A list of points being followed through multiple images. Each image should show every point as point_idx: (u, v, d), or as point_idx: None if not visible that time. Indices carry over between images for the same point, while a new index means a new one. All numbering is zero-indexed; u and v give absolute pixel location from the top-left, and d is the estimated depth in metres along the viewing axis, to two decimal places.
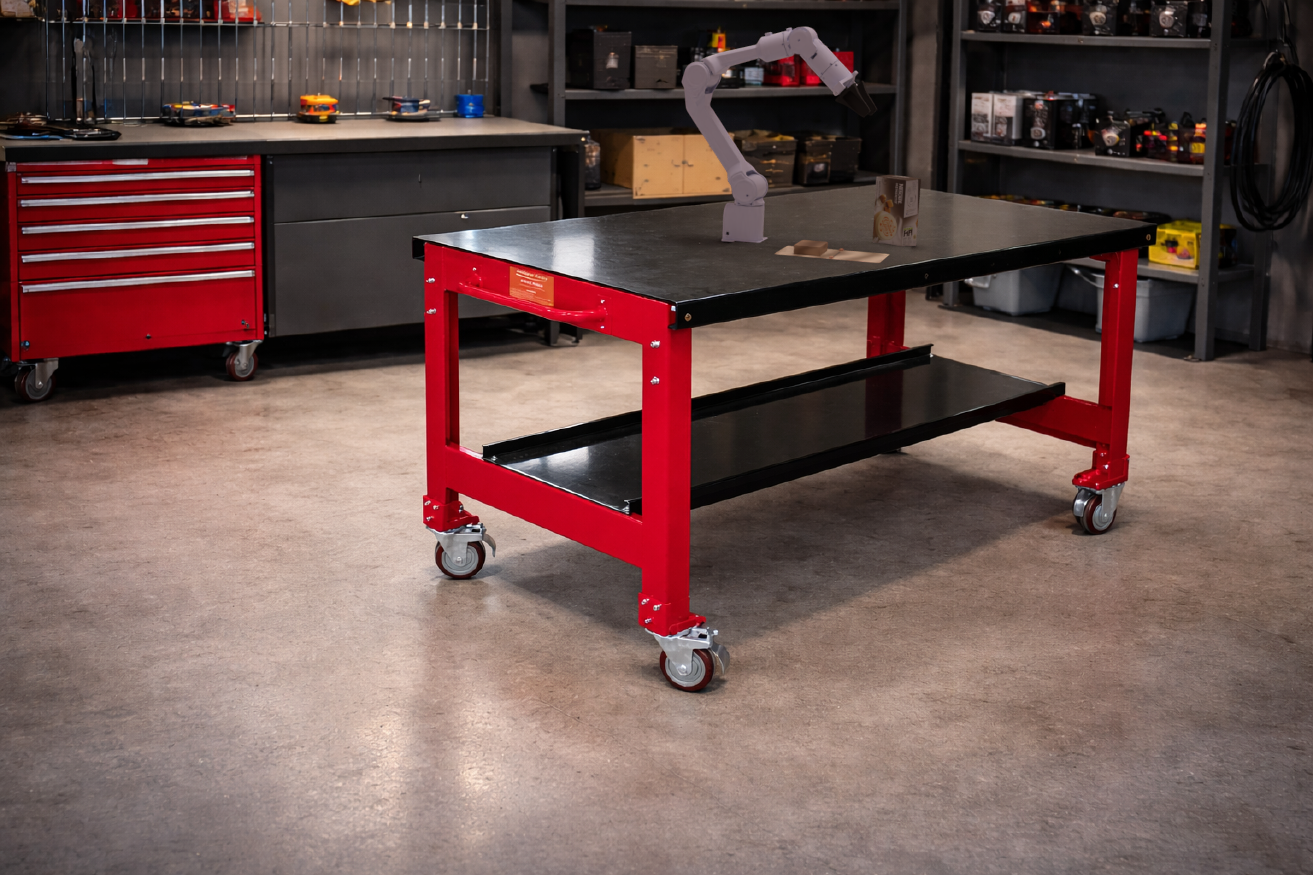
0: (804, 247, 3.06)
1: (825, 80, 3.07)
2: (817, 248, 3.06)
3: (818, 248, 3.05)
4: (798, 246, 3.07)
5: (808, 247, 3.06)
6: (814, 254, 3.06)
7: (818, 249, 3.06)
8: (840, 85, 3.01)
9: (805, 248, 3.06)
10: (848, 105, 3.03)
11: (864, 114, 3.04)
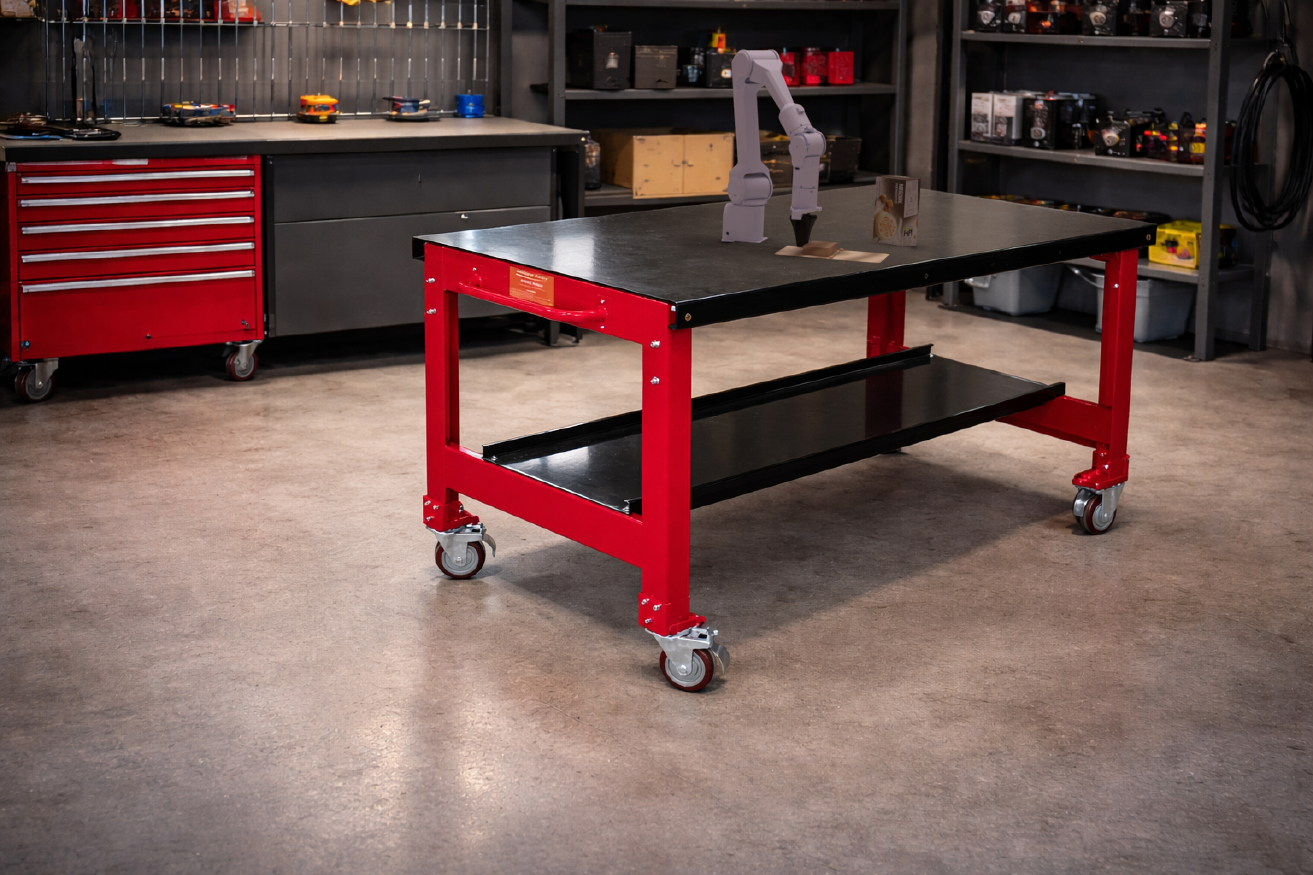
0: (813, 248, 3.06)
1: (794, 193, 3.06)
2: (826, 249, 3.05)
3: (827, 249, 3.05)
4: (807, 247, 3.06)
5: (817, 248, 3.05)
6: (823, 255, 3.05)
7: (827, 250, 3.05)
8: (798, 214, 3.01)
9: (814, 249, 3.06)
10: (794, 229, 3.08)
11: (799, 245, 3.10)
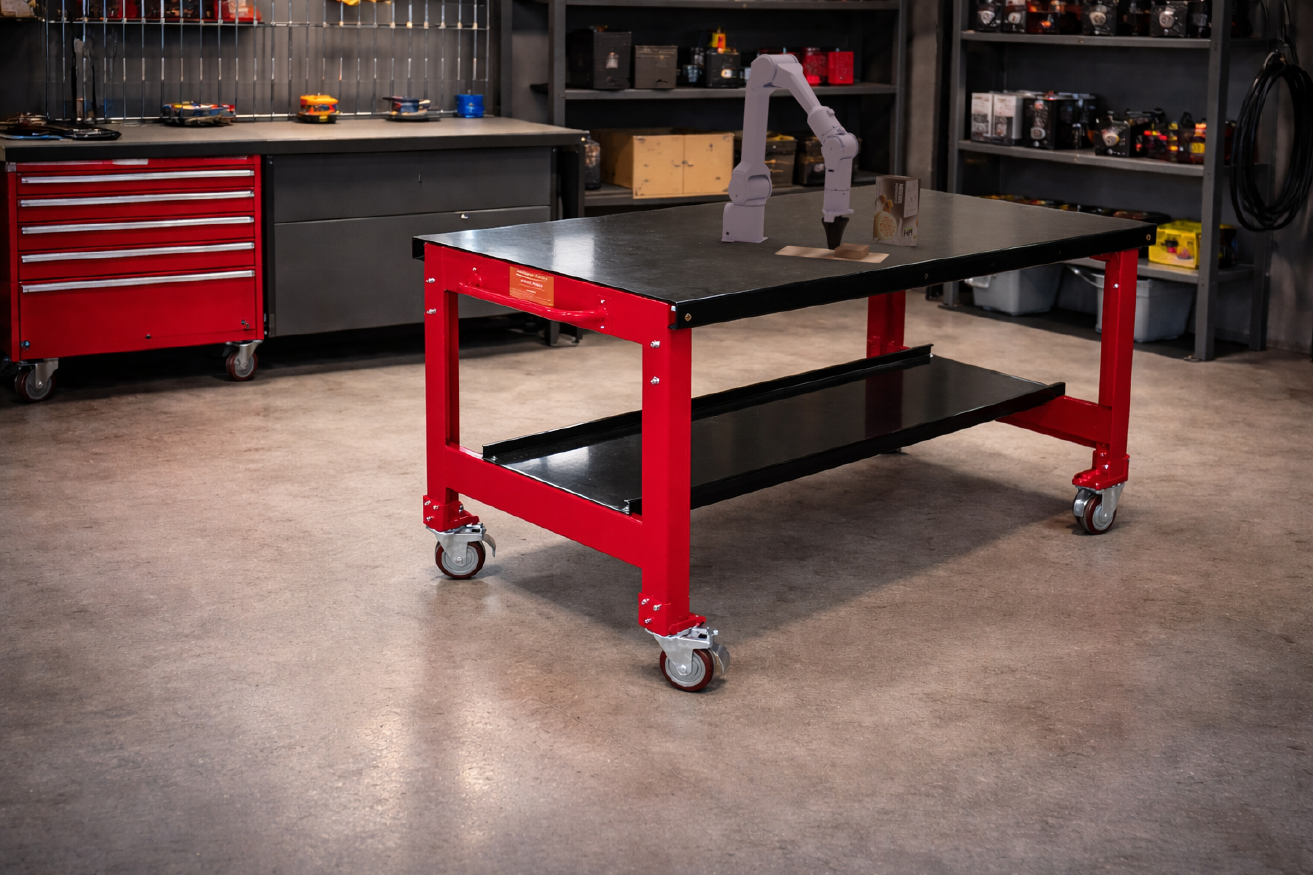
0: (845, 250, 3.04)
1: (826, 195, 3.03)
2: (858, 251, 3.02)
3: (859, 251, 3.02)
4: (839, 249, 3.04)
5: (849, 250, 3.03)
6: (855, 258, 3.03)
7: (859, 252, 3.02)
8: (831, 217, 2.99)
9: (846, 251, 3.03)
10: (826, 231, 3.06)
11: (831, 248, 3.08)
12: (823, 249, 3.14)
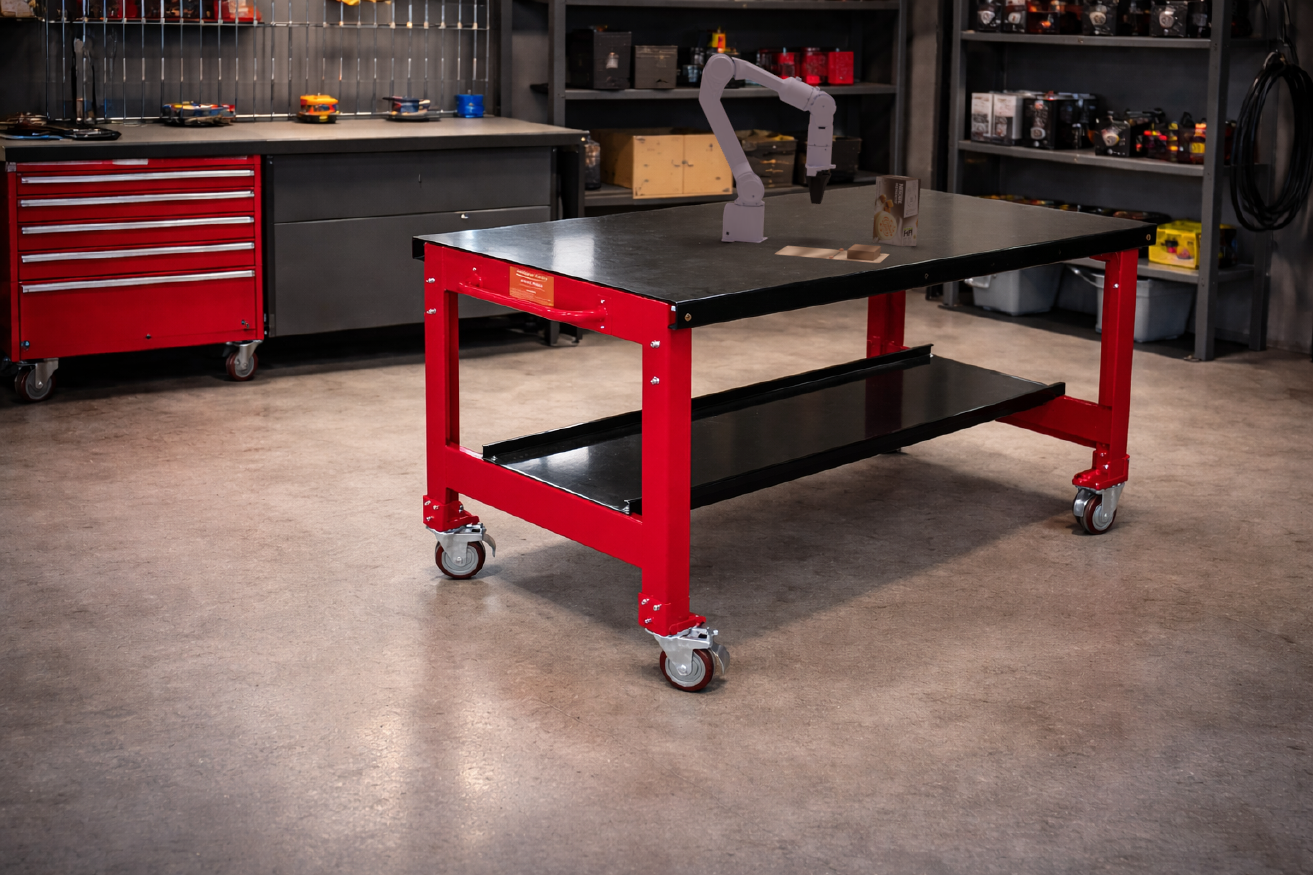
0: (858, 251, 3.03)
1: (809, 151, 3.18)
2: (871, 253, 3.02)
3: (872, 253, 3.02)
4: (852, 250, 3.03)
5: (862, 252, 3.02)
6: (868, 259, 3.02)
7: (872, 254, 3.02)
8: (813, 171, 3.14)
9: (859, 253, 3.03)
10: (809, 186, 3.21)
11: (814, 202, 3.22)
12: (823, 249, 3.14)
